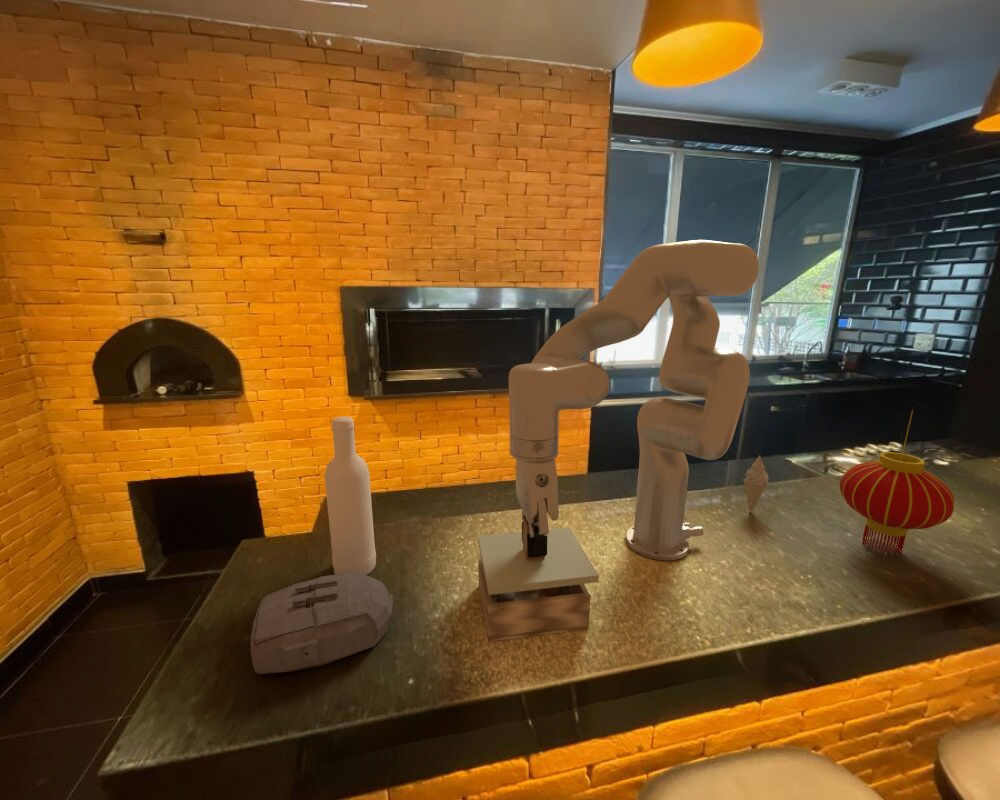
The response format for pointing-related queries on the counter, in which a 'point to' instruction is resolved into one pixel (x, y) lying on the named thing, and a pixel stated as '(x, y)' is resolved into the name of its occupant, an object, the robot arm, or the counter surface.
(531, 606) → the storage box
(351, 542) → the bottle
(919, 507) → the lantern
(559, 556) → the lid
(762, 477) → the ice cream cone
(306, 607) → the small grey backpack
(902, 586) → the counter surface
